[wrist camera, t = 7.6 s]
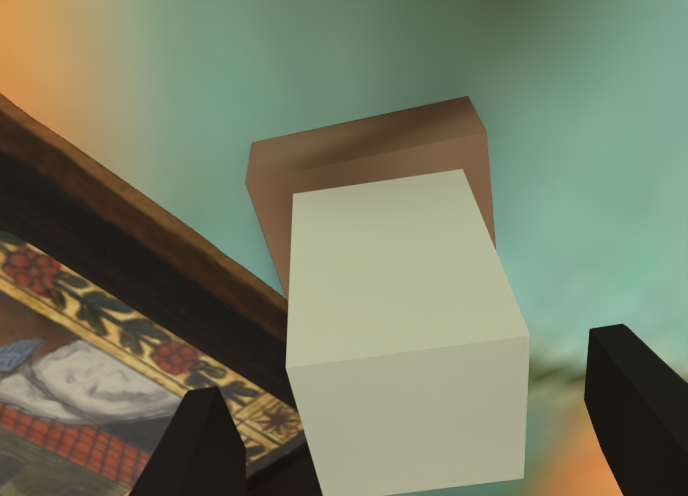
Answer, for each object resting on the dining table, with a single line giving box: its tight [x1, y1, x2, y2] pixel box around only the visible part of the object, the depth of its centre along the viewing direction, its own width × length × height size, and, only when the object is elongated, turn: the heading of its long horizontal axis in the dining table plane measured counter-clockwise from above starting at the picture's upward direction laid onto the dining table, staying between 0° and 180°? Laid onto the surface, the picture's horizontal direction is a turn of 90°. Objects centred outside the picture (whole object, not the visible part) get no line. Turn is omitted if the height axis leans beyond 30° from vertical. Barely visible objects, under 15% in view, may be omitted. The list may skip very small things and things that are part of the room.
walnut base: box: [245, 96, 496, 303], centre depth 17 cm, size 6×6×2 cm
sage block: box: [286, 169, 530, 496], centre depth 14 cm, size 4×4×6 cm
